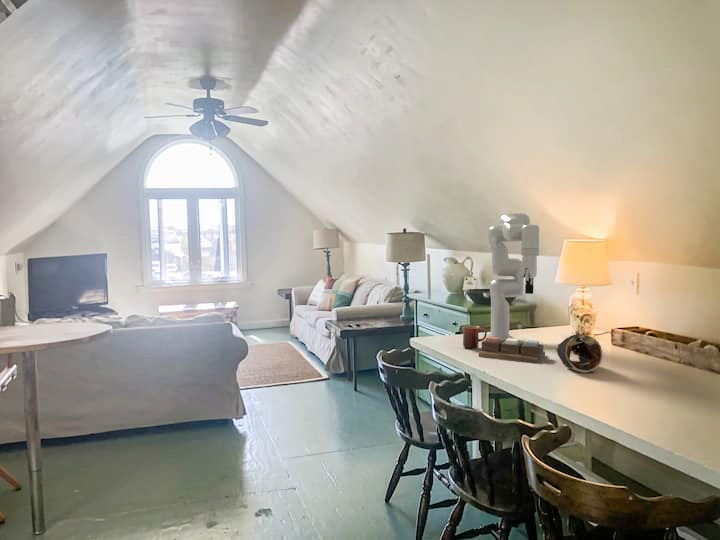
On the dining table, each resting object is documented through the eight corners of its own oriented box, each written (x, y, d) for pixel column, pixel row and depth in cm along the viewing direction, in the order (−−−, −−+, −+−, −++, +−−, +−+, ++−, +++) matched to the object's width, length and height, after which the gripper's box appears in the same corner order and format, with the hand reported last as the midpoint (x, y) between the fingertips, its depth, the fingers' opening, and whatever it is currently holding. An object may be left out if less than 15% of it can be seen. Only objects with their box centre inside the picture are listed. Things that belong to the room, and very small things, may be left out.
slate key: (527, 348, 250) (528, 340, 249) (539, 349, 247) (539, 341, 247) (525, 350, 245) (525, 341, 245) (536, 352, 243) (536, 343, 243)
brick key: (489, 344, 259) (489, 336, 259) (499, 345, 256) (499, 337, 256) (485, 346, 255) (485, 338, 254) (496, 347, 252) (496, 339, 252)
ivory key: (508, 346, 254) (508, 338, 254) (519, 347, 252) (519, 339, 251) (505, 348, 250) (505, 340, 250) (516, 349, 247) (516, 341, 247)
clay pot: (580, 332, 246) (600, 331, 221) (586, 366, 244) (607, 370, 219) (546, 336, 246) (562, 336, 222) (552, 370, 244) (569, 374, 220)
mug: (462, 349, 266) (462, 328, 265) (460, 345, 274) (461, 325, 274) (487, 350, 265) (487, 328, 264) (485, 346, 273) (485, 325, 273)
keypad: (489, 349, 265) (489, 337, 264) (545, 355, 251) (545, 342, 251) (478, 356, 251) (478, 343, 250) (537, 363, 238) (537, 349, 237)
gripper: (525, 251, 253) (524, 291, 255) (517, 253, 241) (516, 294, 242) (542, 252, 250) (541, 292, 251) (534, 253, 237) (533, 295, 238)
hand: (529, 293), depth 246 cm, fingers closed
